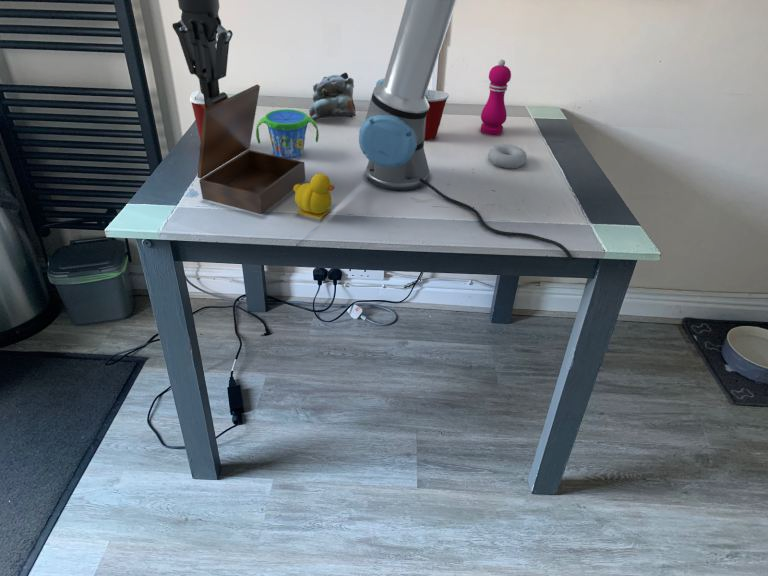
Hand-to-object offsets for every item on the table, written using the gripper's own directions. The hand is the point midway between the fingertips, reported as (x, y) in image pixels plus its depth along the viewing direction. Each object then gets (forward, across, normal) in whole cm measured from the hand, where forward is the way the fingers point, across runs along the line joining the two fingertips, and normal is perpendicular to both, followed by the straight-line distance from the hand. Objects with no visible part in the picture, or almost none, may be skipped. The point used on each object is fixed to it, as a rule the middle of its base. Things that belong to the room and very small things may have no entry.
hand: (212, 109), depth 120 cm
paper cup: (+18, +14, -16) cm, 28 cm away
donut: (+16, -57, -43) cm, 74 cm away
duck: (+17, -26, +3) cm, 31 cm away
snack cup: (+17, -6, -21) cm, 28 cm away
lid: (+4, -4, 0) cm, 6 cm away
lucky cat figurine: (+17, -2, -50) cm, 53 cm away
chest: (+17, -10, 0) cm, 20 cm away
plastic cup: (+10, -32, -49) cm, 60 cm away
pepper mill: (+16, -48, -62) cm, 80 cm away
